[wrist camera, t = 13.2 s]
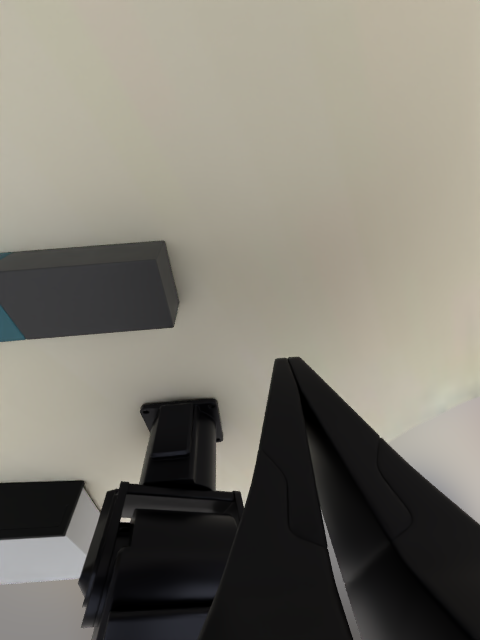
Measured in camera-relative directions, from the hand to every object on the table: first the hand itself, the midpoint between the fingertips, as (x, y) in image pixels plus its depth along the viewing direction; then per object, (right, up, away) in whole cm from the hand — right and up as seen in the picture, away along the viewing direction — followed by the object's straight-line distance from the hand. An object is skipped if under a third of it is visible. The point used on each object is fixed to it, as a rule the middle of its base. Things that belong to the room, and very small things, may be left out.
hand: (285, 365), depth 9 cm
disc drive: (-30, -25, +27) cm, 47 cm away
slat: (-13, +4, +6) cm, 15 cm away
